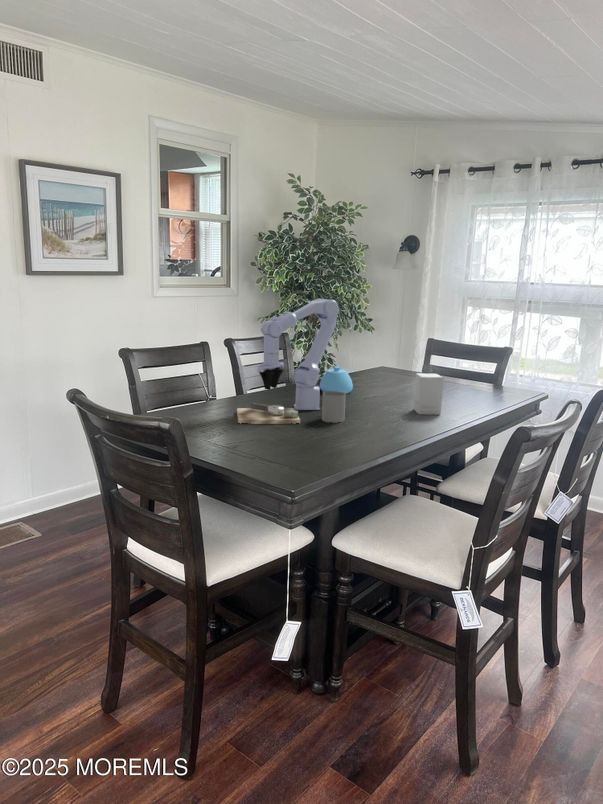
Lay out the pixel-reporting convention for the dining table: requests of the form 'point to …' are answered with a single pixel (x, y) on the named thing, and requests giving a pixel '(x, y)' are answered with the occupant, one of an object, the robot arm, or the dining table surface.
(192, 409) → the dining table surface
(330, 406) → the cup
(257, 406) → the grey spoon
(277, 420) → the oak board
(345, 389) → the sugar bowl
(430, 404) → the supplement box
